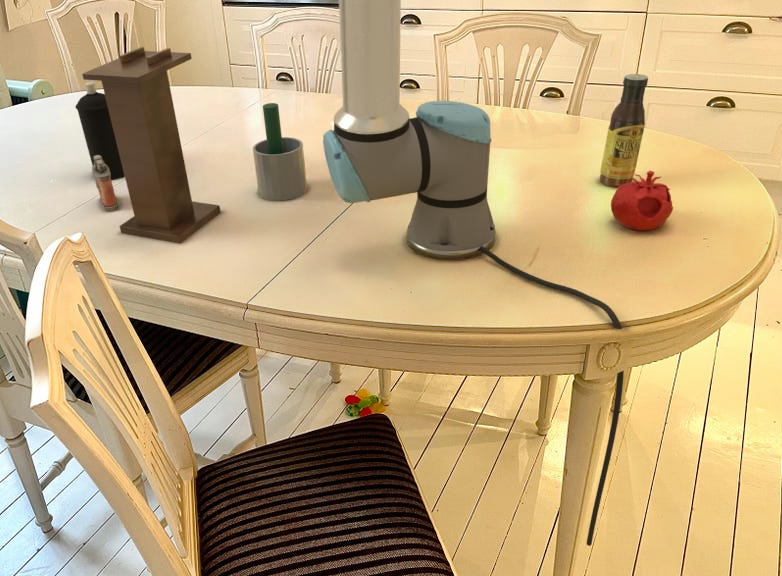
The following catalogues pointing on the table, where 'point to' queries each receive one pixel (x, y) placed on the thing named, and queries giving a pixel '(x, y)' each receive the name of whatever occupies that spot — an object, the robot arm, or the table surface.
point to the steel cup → (280, 170)
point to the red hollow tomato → (642, 203)
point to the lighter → (104, 184)
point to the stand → (151, 145)
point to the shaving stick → (273, 128)
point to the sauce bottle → (625, 133)
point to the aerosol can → (99, 130)
